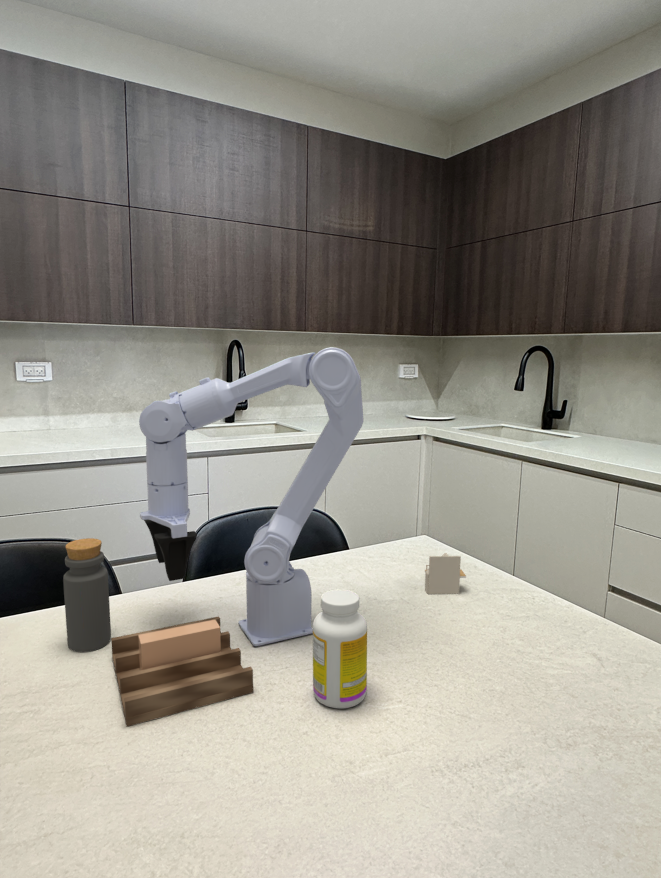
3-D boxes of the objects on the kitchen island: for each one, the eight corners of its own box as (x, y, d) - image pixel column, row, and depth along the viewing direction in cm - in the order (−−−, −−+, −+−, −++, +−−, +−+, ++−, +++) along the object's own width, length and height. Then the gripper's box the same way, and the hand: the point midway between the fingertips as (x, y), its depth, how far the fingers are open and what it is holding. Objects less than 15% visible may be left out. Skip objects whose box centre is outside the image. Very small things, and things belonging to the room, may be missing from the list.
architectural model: (422, 589, 102) (424, 550, 101) (460, 588, 103) (462, 549, 102) (427, 597, 99) (428, 556, 98) (465, 596, 99) (467, 556, 98)
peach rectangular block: (216, 653, 77) (215, 619, 76) (220, 662, 75) (220, 627, 74) (139, 671, 73) (138, 634, 72) (142, 681, 70) (140, 643, 70)
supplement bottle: (372, 685, 72) (374, 589, 70) (357, 716, 65) (359, 612, 64) (323, 675, 74) (323, 582, 72) (304, 704, 68) (304, 603, 66)
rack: (218, 634, 84) (218, 616, 84) (253, 692, 70) (253, 670, 69) (112, 658, 77) (111, 637, 77) (126, 726, 63) (125, 702, 63)
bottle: (95, 654, 78) (89, 552, 76) (58, 650, 79) (51, 548, 77) (119, 634, 84) (114, 538, 82) (84, 630, 85) (78, 535, 83)
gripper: (131, 474, 87) (135, 558, 89) (148, 495, 74) (151, 593, 76) (177, 470, 90) (180, 551, 92) (201, 490, 77) (203, 584, 79)
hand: (170, 570), depth 84 cm, fingers open, 7 cm apart
